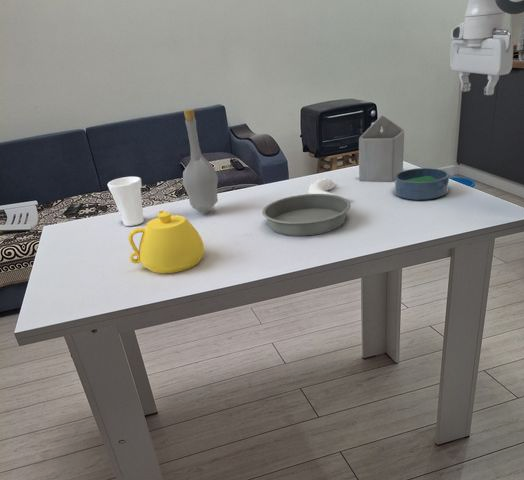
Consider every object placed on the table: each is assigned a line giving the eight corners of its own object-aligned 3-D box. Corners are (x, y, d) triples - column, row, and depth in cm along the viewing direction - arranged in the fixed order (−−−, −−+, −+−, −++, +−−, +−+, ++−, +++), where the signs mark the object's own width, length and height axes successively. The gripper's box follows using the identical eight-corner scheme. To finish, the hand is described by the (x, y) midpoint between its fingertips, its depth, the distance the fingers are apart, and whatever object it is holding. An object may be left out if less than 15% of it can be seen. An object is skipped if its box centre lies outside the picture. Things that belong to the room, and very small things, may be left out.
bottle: (229, 212, 166) (214, 108, 150) (196, 222, 162) (177, 115, 146) (214, 204, 174) (199, 105, 158) (182, 213, 170) (163, 111, 154)
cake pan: (345, 204, 161) (345, 189, 159) (356, 233, 141) (356, 217, 138) (264, 212, 163) (262, 197, 160) (263, 242, 142) (261, 226, 140)
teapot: (211, 267, 132) (203, 217, 125) (134, 283, 129) (121, 232, 122) (198, 240, 148) (190, 195, 141) (130, 253, 145) (118, 207, 138)
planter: (369, 186, 174) (370, 122, 163) (358, 180, 180) (358, 119, 170) (414, 177, 177) (417, 114, 167) (401, 172, 184) (404, 111, 173)
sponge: (428, 187, 165) (428, 175, 163) (436, 191, 161) (437, 179, 159) (404, 191, 164) (404, 180, 162) (412, 196, 160) (413, 184, 158)
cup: (141, 215, 173) (132, 174, 166) (155, 222, 165) (146, 179, 158) (113, 224, 168) (102, 182, 161) (125, 231, 161) (114, 188, 154)
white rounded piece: (319, 187, 179) (362, 187, 173) (301, 208, 165) (347, 210, 159) (318, 172, 176) (362, 172, 171) (300, 193, 162) (347, 194, 157)
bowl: (450, 186, 165) (452, 168, 162) (442, 202, 154) (444, 183, 151) (401, 185, 171) (401, 167, 169) (389, 200, 160) (390, 182, 157)
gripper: (524, 27, 119) (515, 95, 126) (469, 27, 136) (464, 87, 143) (499, 30, 118) (491, 99, 125) (447, 30, 135) (443, 90, 142)
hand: (476, 92), depth 134 cm, fingers open, 8 cm apart
